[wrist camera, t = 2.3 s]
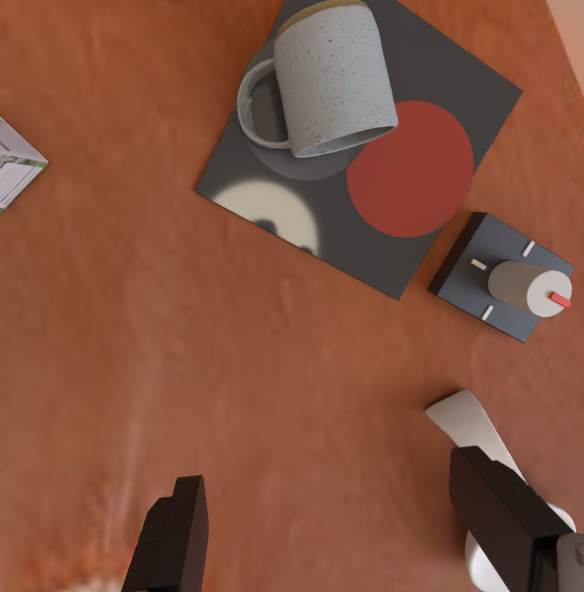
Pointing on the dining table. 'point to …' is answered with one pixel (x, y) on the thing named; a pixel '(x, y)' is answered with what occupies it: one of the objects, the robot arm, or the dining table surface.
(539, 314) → the hob knob
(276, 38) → the ceramic mug
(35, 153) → the syrup box
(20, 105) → the dining table surface
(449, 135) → the hob
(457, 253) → the control box
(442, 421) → the spoon rest
